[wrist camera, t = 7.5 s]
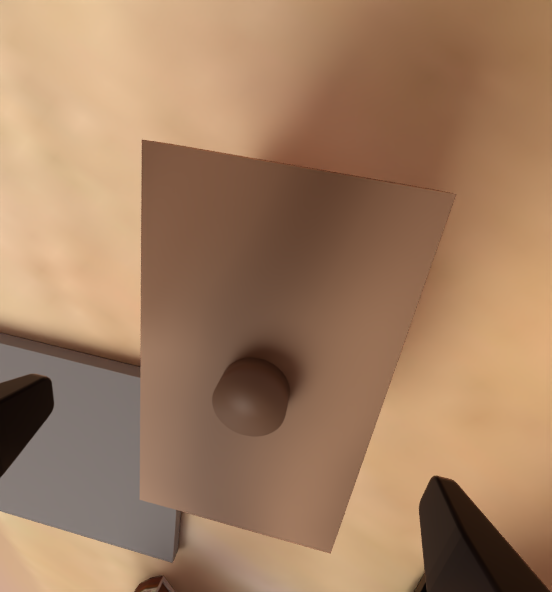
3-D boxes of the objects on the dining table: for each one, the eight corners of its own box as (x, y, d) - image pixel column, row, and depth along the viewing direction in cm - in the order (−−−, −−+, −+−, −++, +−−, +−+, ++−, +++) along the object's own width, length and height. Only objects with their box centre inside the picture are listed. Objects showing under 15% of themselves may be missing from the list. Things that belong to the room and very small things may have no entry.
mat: (191, 379, 17) (184, 389, 17) (177, 549, 23) (172, 562, 22) (-49, 320, 19) (-65, 327, 18) (-9, 494, 24) (-19, 505, 23)
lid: (437, 190, 8) (470, 197, 6) (331, 514, 13) (330, 579, 11) (170, 143, 9) (121, 136, 7) (158, 467, 13) (126, 521, 11)
